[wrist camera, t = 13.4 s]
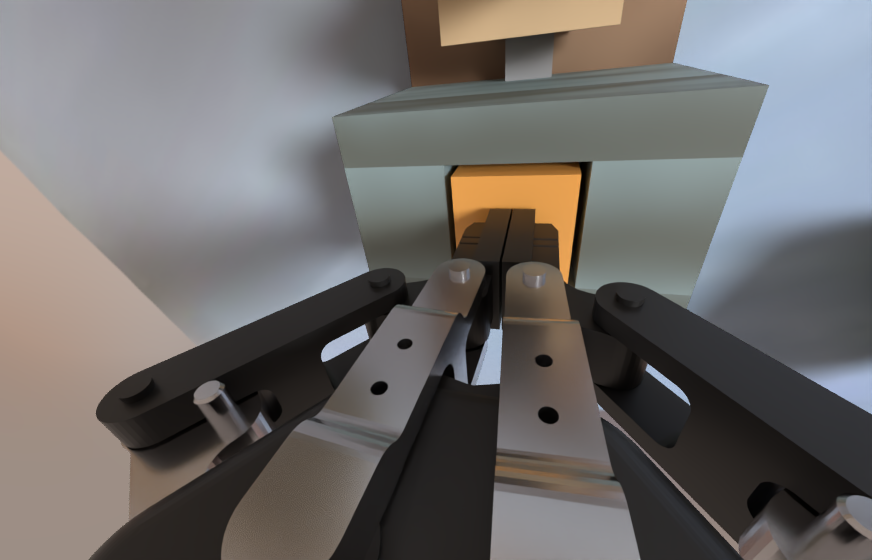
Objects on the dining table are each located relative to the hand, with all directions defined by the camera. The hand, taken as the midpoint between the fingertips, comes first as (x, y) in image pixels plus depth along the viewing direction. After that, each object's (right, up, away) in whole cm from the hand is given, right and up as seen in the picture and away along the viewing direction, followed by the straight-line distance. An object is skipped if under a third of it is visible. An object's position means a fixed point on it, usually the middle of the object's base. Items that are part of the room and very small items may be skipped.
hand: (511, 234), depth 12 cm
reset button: (+1, +2, +2) cm, 3 cm away
